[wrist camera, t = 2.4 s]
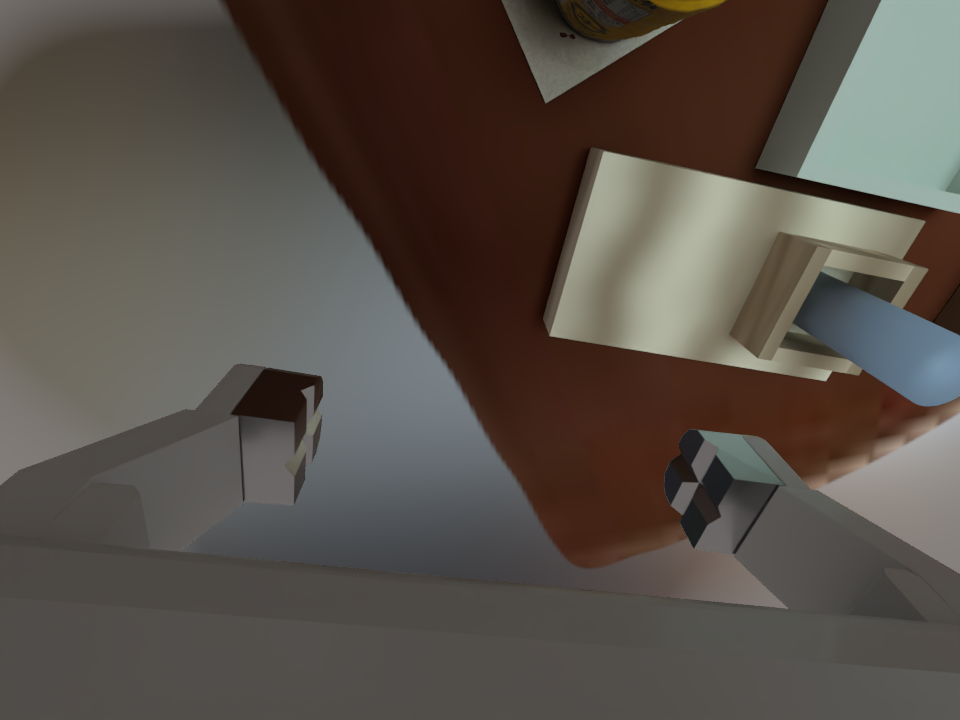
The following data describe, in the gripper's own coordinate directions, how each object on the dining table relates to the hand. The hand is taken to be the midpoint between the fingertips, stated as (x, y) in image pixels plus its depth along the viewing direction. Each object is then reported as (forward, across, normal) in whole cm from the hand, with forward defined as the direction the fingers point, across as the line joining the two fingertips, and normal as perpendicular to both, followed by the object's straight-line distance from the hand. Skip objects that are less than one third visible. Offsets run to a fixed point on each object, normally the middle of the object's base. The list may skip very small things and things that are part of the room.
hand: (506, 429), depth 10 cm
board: (+19, -14, 0) cm, 24 cm away
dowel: (+17, -19, 0) cm, 25 cm away
